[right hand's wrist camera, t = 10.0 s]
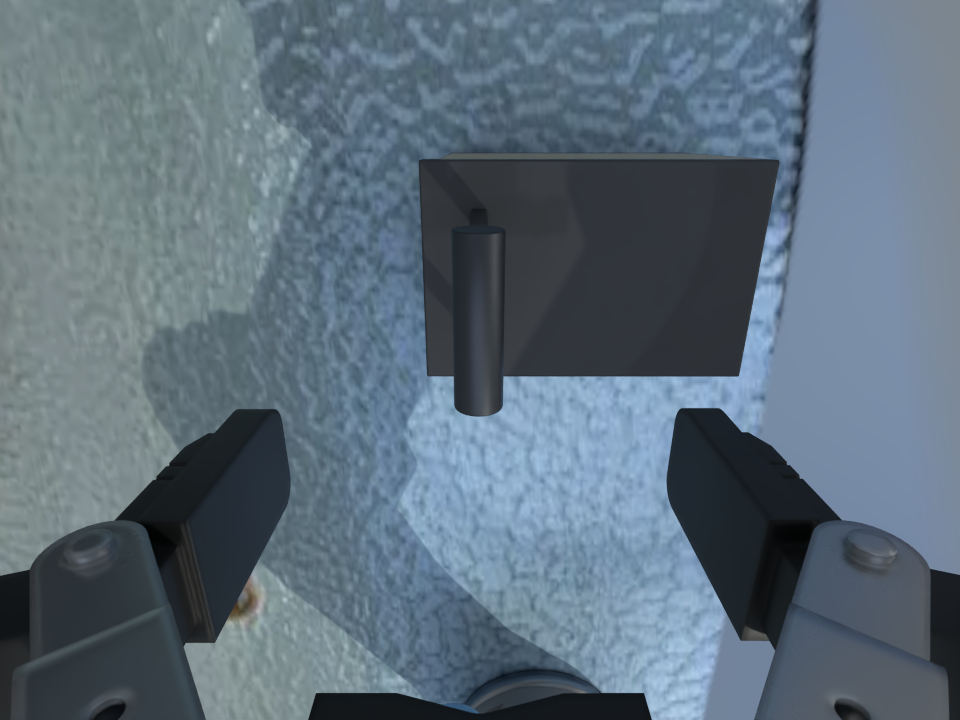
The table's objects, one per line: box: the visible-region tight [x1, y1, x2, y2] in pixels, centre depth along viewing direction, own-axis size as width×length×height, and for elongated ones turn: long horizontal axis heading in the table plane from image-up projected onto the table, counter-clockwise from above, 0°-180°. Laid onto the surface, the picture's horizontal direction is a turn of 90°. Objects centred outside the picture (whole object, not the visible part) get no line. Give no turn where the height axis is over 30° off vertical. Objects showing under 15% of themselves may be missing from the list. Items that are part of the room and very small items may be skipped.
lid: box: [419, 159, 779, 416], centre depth 23 cm, size 16×10×9 cm, turn 90°
